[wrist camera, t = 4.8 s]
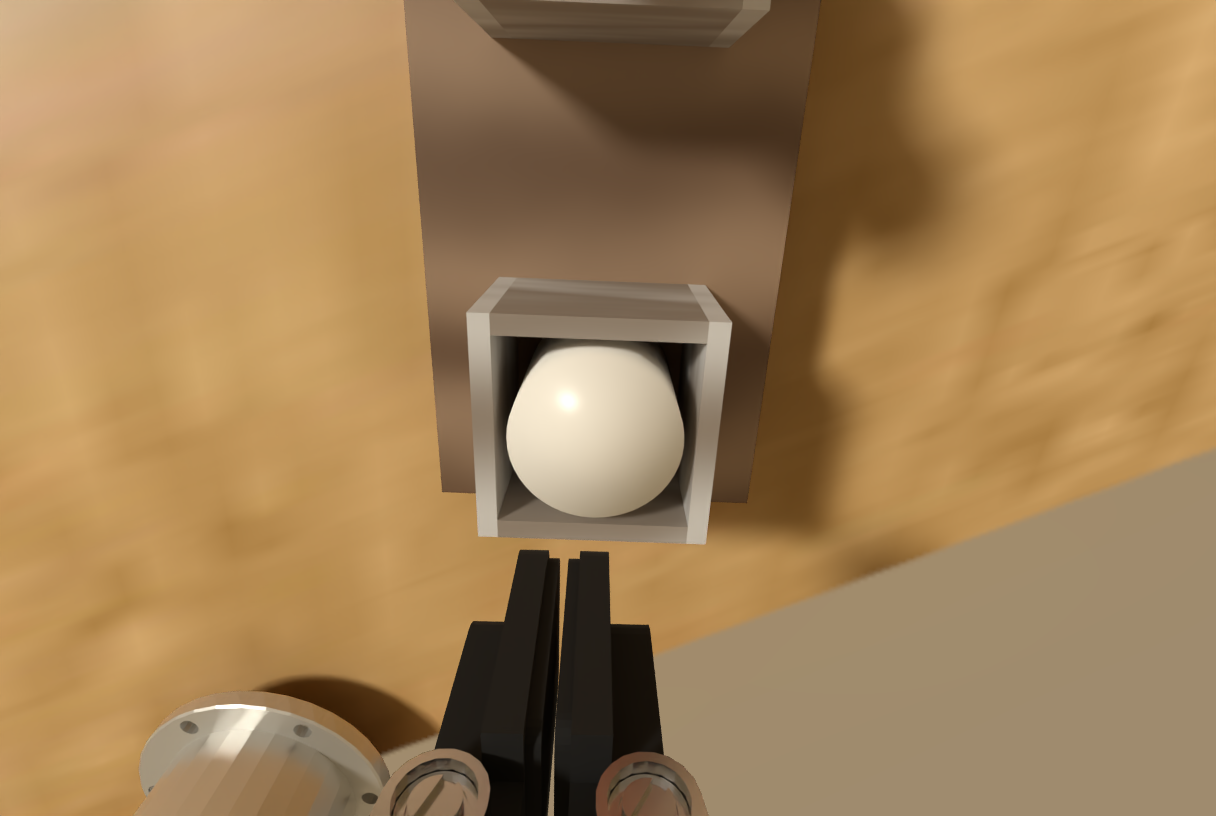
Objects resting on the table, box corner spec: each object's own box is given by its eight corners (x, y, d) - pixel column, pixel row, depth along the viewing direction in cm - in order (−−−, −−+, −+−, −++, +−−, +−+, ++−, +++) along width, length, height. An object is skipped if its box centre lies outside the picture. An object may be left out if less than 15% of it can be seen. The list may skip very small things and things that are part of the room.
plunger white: (663, 445, 23) (676, 520, 18) (530, 440, 23) (508, 514, 18) (674, 314, 21) (692, 360, 16) (527, 309, 21) (503, 353, 16)
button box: (728, 456, 28) (779, 586, 19) (465, 446, 27) (401, 573, 19) (820, -251, 18) (993, -590, 10) (422, -270, 18) (262, -628, 10)
